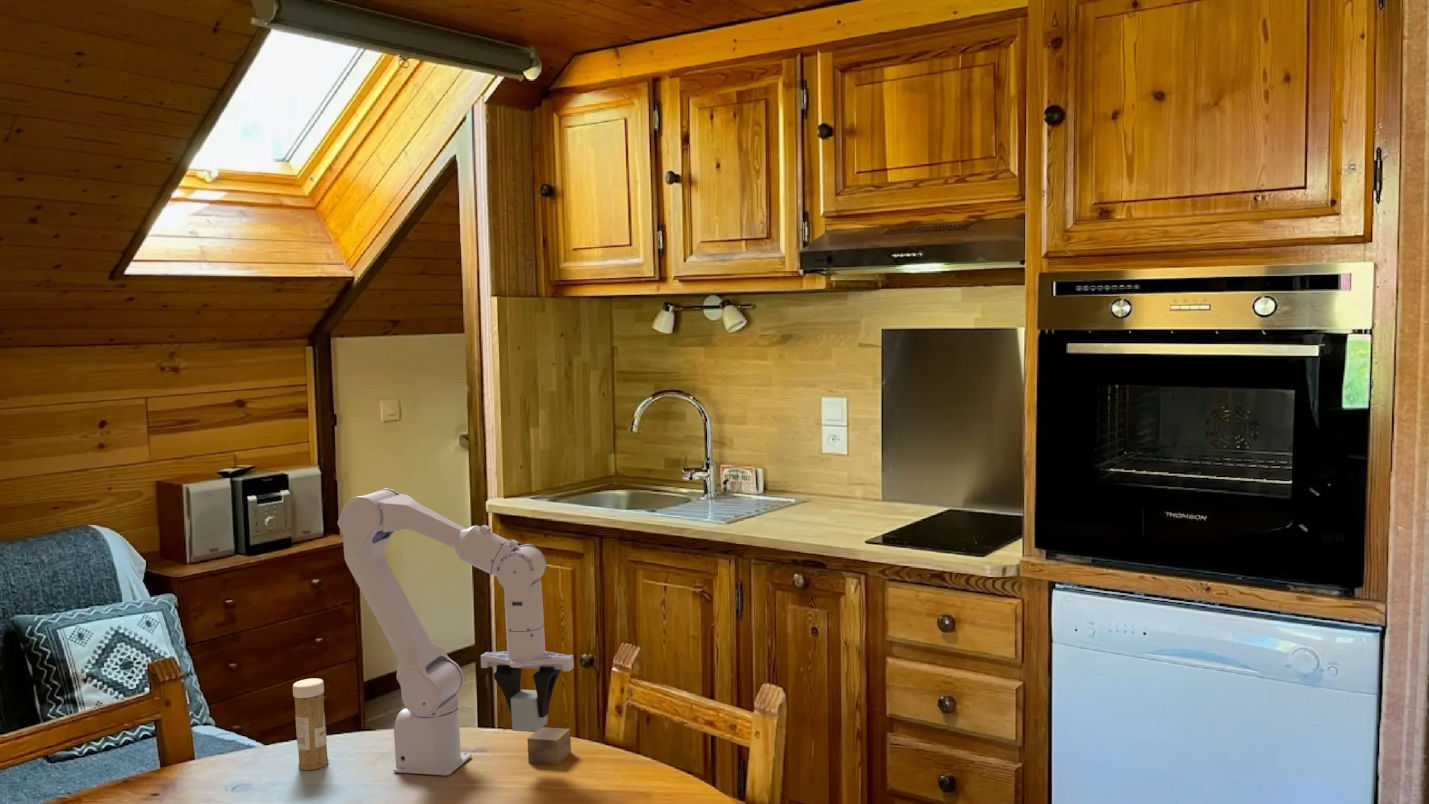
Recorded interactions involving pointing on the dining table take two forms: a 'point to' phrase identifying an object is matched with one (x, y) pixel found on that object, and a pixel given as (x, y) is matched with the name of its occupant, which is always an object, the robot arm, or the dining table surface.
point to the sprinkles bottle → (310, 723)
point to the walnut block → (549, 746)
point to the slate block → (526, 712)
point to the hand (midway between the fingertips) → (529, 714)
